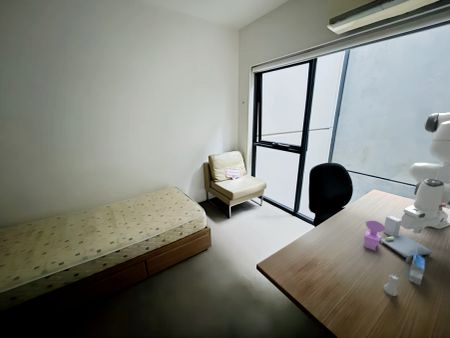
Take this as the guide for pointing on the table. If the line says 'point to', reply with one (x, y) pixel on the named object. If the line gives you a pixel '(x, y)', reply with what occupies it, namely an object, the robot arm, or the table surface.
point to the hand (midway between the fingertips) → (416, 232)
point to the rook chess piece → (391, 285)
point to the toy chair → (373, 234)
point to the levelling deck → (405, 246)
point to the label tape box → (417, 269)
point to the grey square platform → (409, 256)
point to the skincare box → (392, 226)
